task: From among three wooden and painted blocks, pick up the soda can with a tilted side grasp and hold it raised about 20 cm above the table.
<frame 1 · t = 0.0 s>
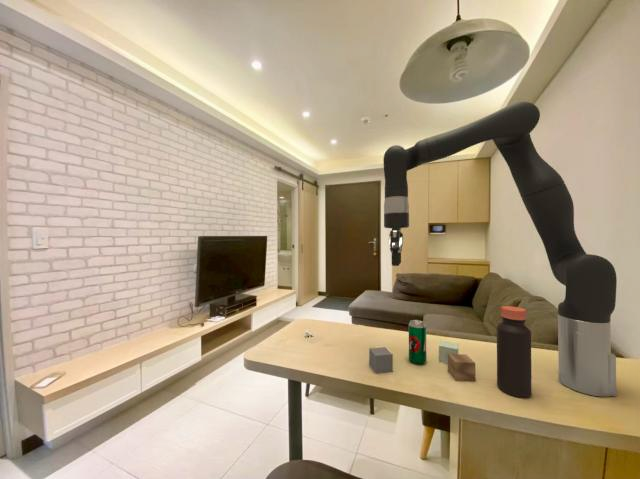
hand: (396, 264, 80), 29 cm above the table, tool pointing down, fingers open, 8 cm apart
bottle: (513, 391, 63), on the table
soda can: (417, 362, 78), on the table
sage block: (448, 360, 79), on the table
charcoal block: (380, 368, 74), on the table
power adapter: (310, 339, 98), on the table
walnut block: (461, 376, 70), on the table
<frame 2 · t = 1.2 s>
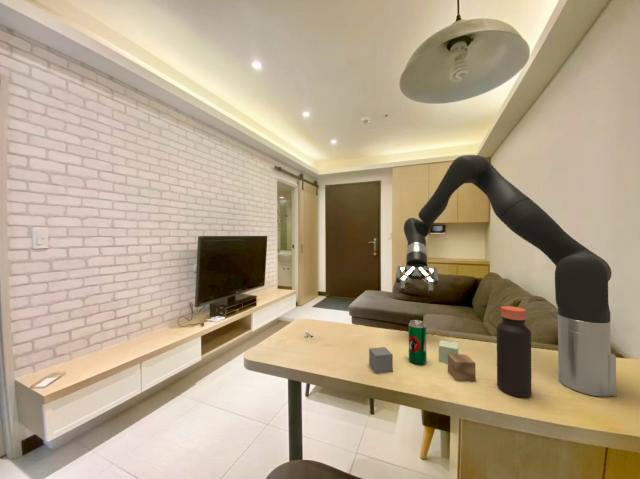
hand: (416, 292, 89), 19 cm above the table, tool tilted 45°, fingers open, 8 cm apart
nothing on the table moved.
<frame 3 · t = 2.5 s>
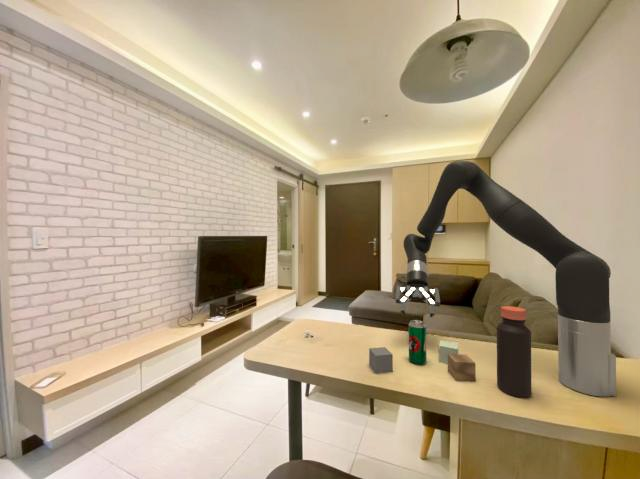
hand: (417, 314, 85), 12 cm above the table, tool tilted 45°, fingers open, 8 cm apart
nothing on the table moved.
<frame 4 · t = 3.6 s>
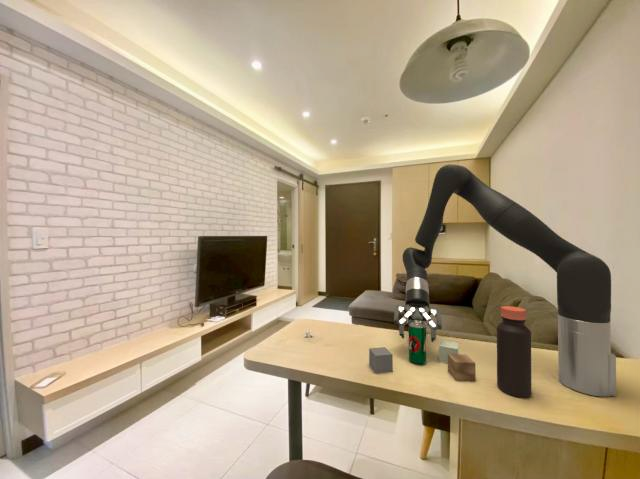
hand: (417, 338, 78), 7 cm above the table, tool tilted 45°, fingers open, 8 cm apart
nothing on the table moved.
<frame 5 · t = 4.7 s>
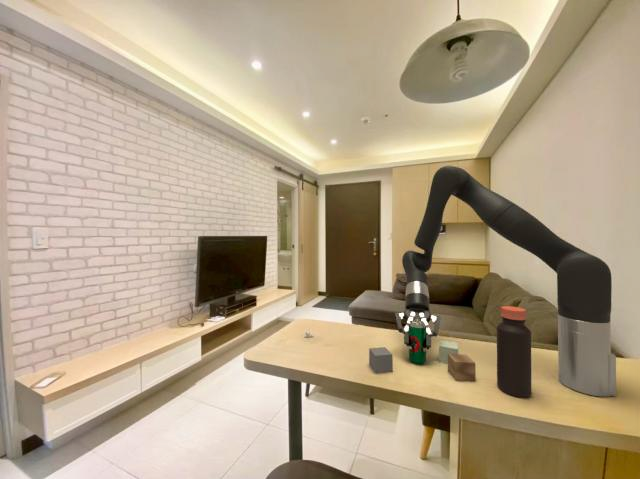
hand: (417, 346, 77), 5 cm above the table, tool tilted 45°, fingers closed on soda can, 5 cm apart
soda can: (417, 362, 78), on the table, touching gripper
everything else where it was.
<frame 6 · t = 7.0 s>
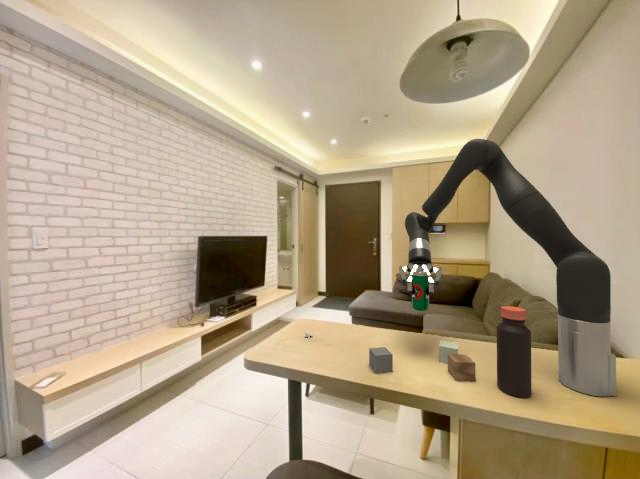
hand: (420, 294, 81), 20 cm above the table, tool tilted 45°, fingers closed on soda can, 5 cm apart
soda can: (420, 309, 83), point 15 cm above the table, touching gripper
everything else where it was.
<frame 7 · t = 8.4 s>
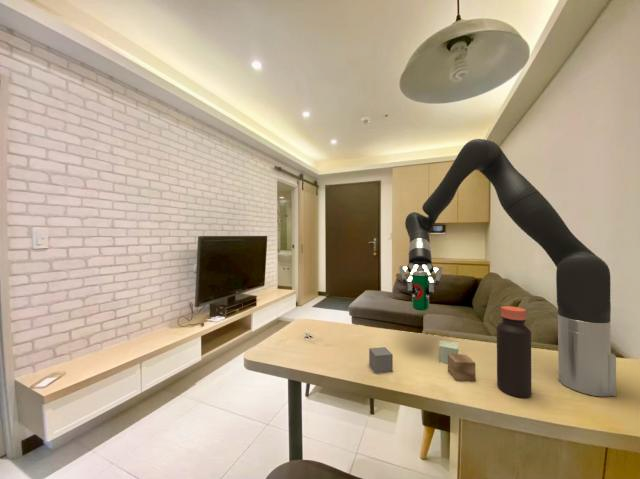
hand: (420, 293, 81), 20 cm above the table, tool tilted 45°, fingers closed on soda can, 5 cm apart
soda can: (420, 309, 83), point 15 cm above the table, touching gripper
everything else where it was.
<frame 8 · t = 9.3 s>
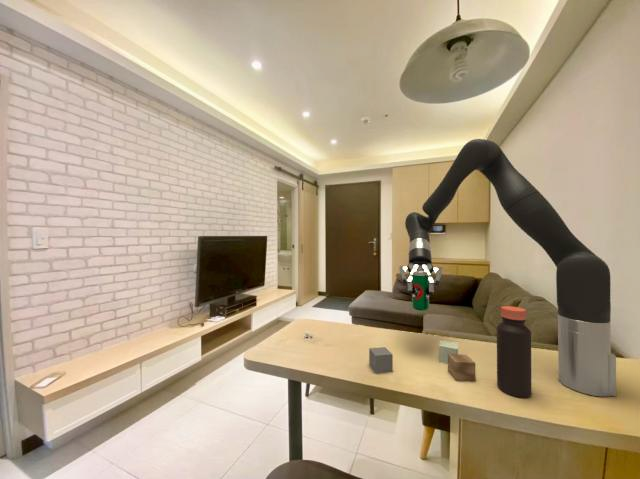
hand: (420, 293, 81), 20 cm above the table, tool tilted 45°, fingers closed on soda can, 5 cm apart
soda can: (420, 309, 83), point 15 cm above the table, touching gripper
at the end: the gripper is holding soda can; soda can point 14.6 cm above the table; walnut block moved 0.1 cm from its start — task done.
